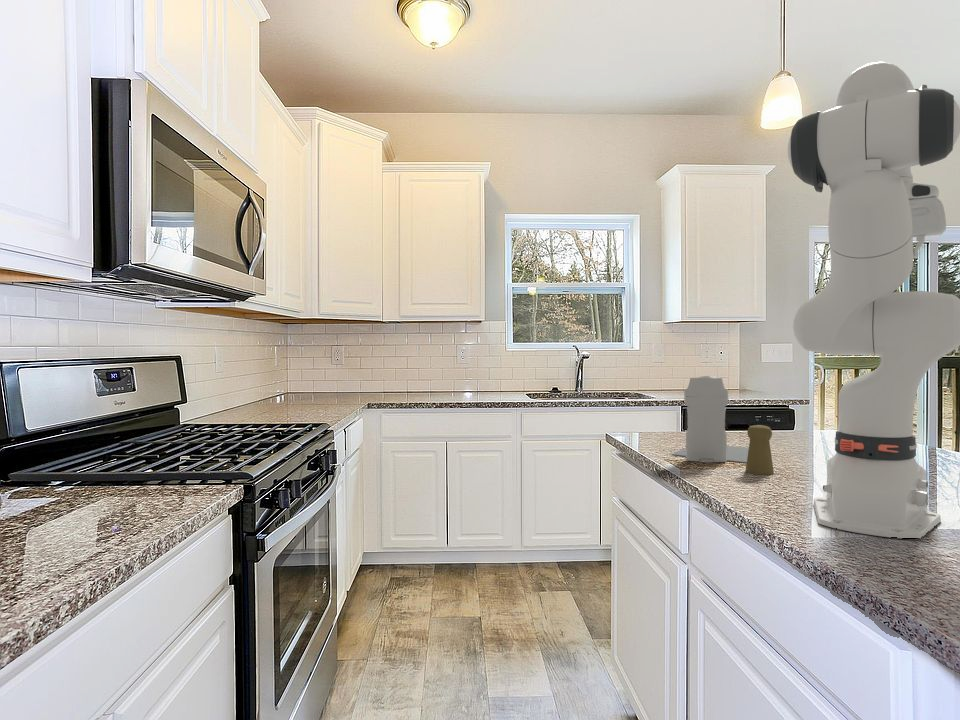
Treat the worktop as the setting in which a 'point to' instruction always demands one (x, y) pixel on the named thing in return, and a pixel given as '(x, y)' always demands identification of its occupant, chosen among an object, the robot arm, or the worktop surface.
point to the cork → (759, 451)
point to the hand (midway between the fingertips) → (886, 260)
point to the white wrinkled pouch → (706, 420)
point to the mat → (727, 454)
